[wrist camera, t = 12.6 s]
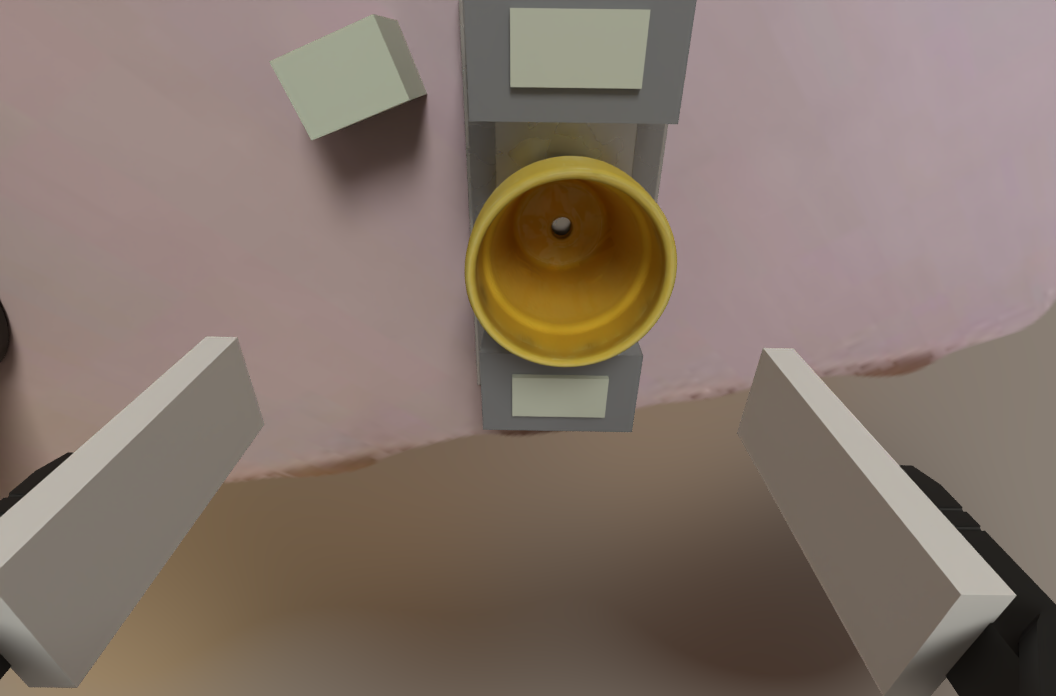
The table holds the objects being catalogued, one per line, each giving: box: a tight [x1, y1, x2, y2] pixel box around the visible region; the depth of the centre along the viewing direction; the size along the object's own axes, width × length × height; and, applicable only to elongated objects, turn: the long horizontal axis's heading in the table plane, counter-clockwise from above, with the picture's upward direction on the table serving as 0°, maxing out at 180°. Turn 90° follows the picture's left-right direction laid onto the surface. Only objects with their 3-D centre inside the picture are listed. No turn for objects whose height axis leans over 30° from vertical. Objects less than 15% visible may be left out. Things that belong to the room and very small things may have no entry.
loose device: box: [269, 14, 427, 140], centre depth 28 cm, size 6×4×5 cm, turn 110°
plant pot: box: [465, 156, 677, 367], centre depth 28 cm, size 10×10×10 cm
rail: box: [459, 0, 668, 385], centre depth 33 cm, size 12×26×2 cm, turn 179°
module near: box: [464, 0, 696, 124], centre depth 25 cm, size 10×6×6 cm, turn 89°
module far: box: [480, 329, 643, 432], centre depth 34 cm, size 10×6×6 cm, turn 89°
